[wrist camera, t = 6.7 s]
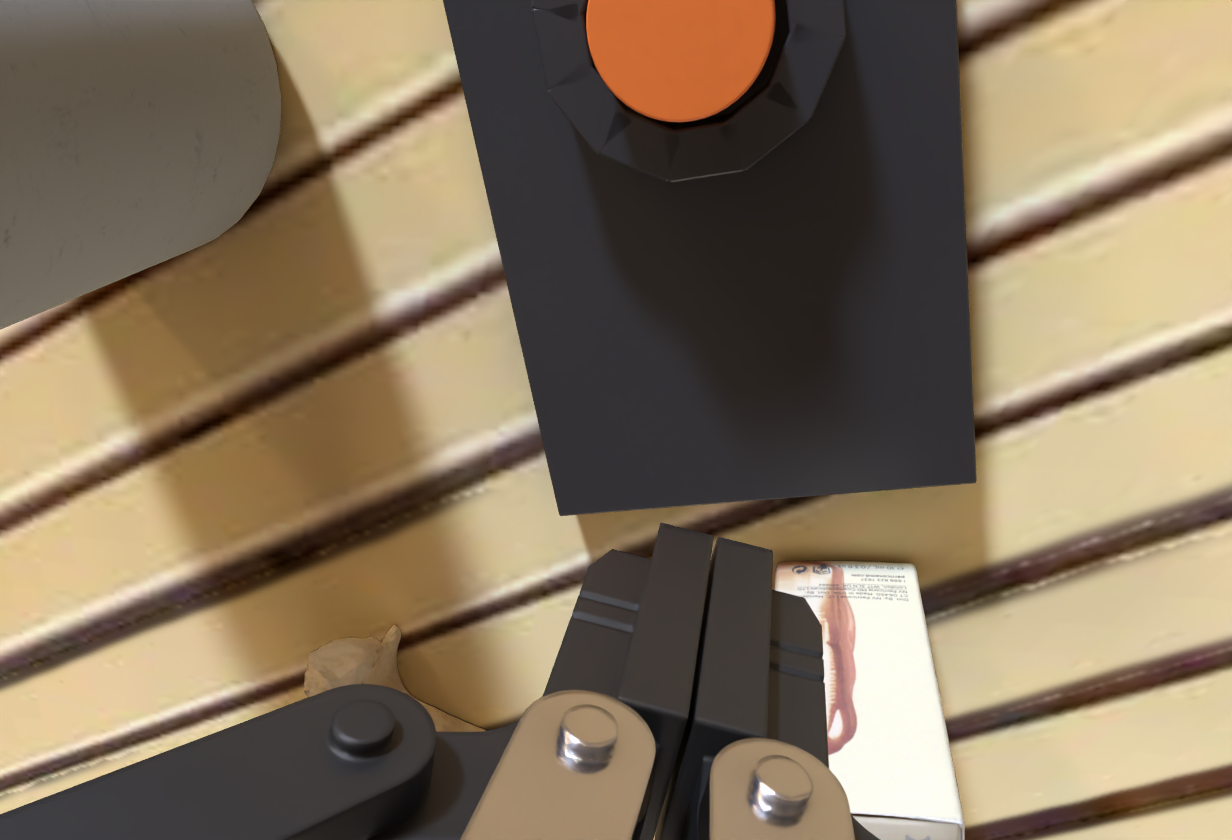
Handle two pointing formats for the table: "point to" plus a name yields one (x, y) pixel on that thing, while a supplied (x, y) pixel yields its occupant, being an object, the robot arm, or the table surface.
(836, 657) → the white medicine box
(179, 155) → the water bottle
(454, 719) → the beige figurine
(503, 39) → the black button panel
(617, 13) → the button
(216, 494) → the table surface
